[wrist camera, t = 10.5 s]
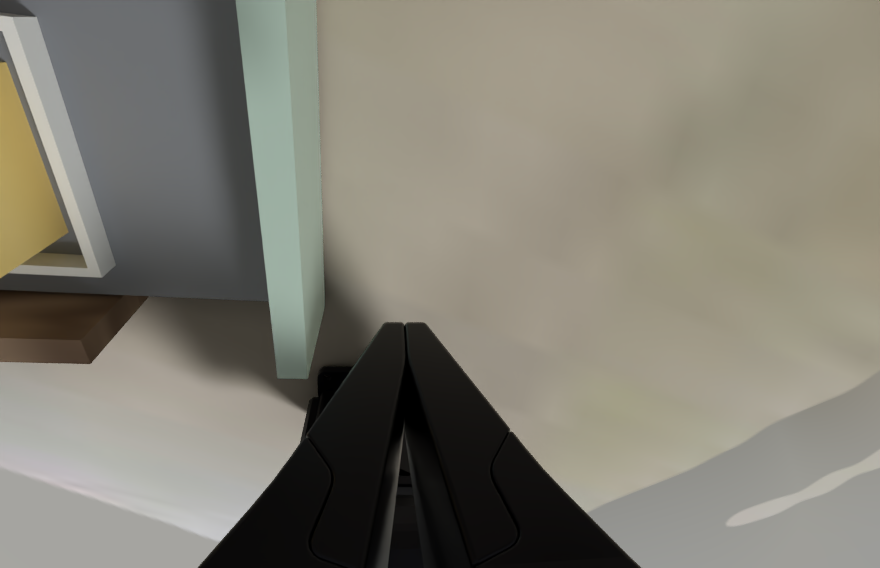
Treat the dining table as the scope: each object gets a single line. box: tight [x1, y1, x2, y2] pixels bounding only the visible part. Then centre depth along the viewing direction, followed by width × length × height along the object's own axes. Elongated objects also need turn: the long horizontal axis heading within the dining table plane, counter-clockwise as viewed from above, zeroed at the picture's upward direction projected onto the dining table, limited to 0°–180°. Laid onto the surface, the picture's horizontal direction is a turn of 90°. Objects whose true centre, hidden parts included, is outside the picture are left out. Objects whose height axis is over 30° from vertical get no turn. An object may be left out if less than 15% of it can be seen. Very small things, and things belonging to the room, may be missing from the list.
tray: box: [0, 0, 325, 379], centre depth 15 cm, size 16×15×5 cm
